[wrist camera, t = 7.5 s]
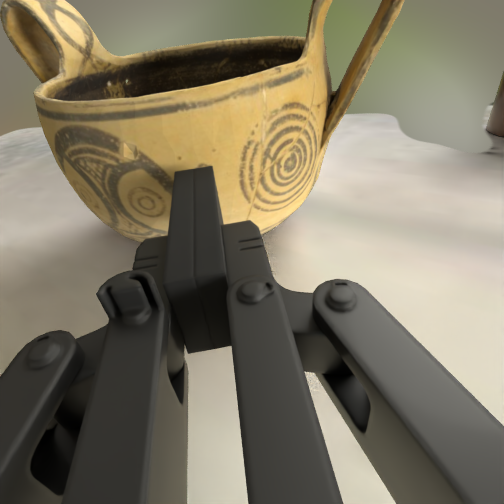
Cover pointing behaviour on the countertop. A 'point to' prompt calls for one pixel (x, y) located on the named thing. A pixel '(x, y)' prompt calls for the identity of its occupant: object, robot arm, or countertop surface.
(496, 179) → the countertop surface
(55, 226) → the countertop surface
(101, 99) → the ceramic bowl
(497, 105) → the pepper mill
